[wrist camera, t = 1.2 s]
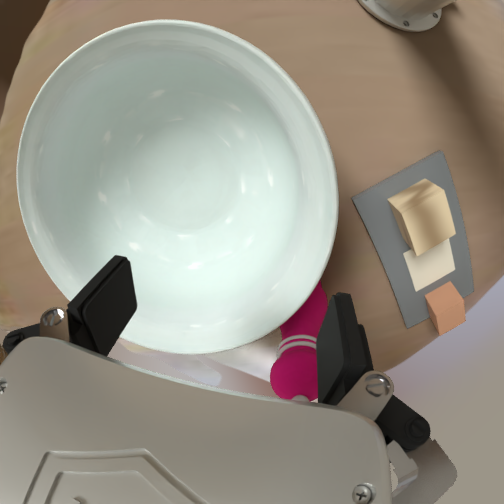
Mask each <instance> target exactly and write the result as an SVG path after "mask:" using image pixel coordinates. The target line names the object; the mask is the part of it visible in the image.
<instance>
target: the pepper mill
mask: <svg viewBox="0 0 504 504" xmlns="http://www.w3.org/2000/svg"><path fill="white" fill-rule="evenodd" d="M327 307H328V303H327V296H326V294H325V292H324V290H323V289H322V285H321V280H319V282H318V284H317V285H316V287H315V288H314V290H313V292H312V293H311V295H310V296H309V297H308V299H307V300H306V301H305V302H304V304H303V305H302V306H301V307H300V308H299V309H298V310H297V311H296V312H295V313H294V314H293V315H292V316H291V317H290V318H289V319H288V320H287V321H286V322H284V323H283V324H282V325H281V326H279V327H280V329H281V332H282V342H281V343H280V344H279V346H278V349H277V360H276V362H275V363H274V364H273V366H272V368H271V373H270V382H271V386H272V388H273V390H274V392H275V393H276V394H277V395H278V396H279V397H280V398H282V399H289V400H298V401H307V402H310V401H313V400H315V399H317V398H318V381H317V356H316V339H317V336H318V333H319V330H320V327H321V325H322V323H323V320H324V317H325V314H326V312H327Z"/></svg>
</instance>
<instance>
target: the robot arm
mask: <svg viewBox="0 0 504 504" xmlns="http://www.w3.org/2000/svg"><path fill="white" fill-rule="evenodd" d="M358 1H359V3H360V4H361V5H362V6H363V7H364V8H365V9H366V10H367V11H368V12H369V13H371V14H372V15H373V16H375V17H376V18H377V19H379V20H381V21H382V22H384V23H386V24H388V25H390V26H392V27H395V28H398V29H400V30H404V31H409V32H421V31H426V30H428V29H430V28H432V27H434V26H435V25H436V24H437V23H438V22H439V20H440V17H441V11H442V9H441V8H443V7H445V6H446V5H448V4H450V3H452V2H454V1H456V0H366V1H365V0H358ZM67 306H68V309H67V310H65V309H64V308H62V307H52V308H50V309H48V310H46V311H45V312H44V313H43V314H42V316H41V318H40V323H38V324H35V325H31V326H28V327H24V328H21V329H18V330H14V331H12V332H10V333H9V334H8V335H7V336H6V337H5V339H4V341H3V345H1V344H0V504H434V503H435V502H436V501H437V500H438V499H439V498H440V497H441V496H442V495H443V494H444V493H445V492H446V491H447V490H448V489H449V488H450V487H451V486H452V485H453V484H454V482H455V481H456V478H457V470H456V468H455V466H454V465H453V463H452V462H451V460H450V459H449V458H448V456H447V455H446V454H445V452H444V451H443V450H442V448H441V447H440V445H439V444H438V443H437V441H436V440H435V439H434V440H433V441H432V440H431V438H430V437H429V436H430V426H429V424H428V422H427V421H426V420H425V419H424V418H423V417H421V416H420V415H419V414H418V413H416V412H415V411H414V410H412V409H411V408H410V407H408V406H407V405H406V404H405V403H403V402H402V401H401V400H399V399H398V398H397V397H395V396H394V395H393V392H394V385H393V382H392V380H391V379H390V377H388V376H387V375H386V374H384V373H382V372H380V371H374V369H373V364H372V360H371V355H370V351H369V346H368V342H367V338H366V334H365V330H364V327H363V325H361V324H358V322H357V318H356V314H355V310H354V306H353V302H352V298H351V295H350V294H347V293H339V292H338V293H337V294H336V295H332V297H331V300H330V303H329V306H328V309H327V312H326V314H325V317H324V320H323V323H322V325H321V328H320V331H319V333H318V336H317V339H316V356H317V381H318V403H314V402H307V401H298V400H289V399H282V398H274V397H268V396H260V395H254V394H248V393H241V392H236V391H231V390H225V389H220V388H216V387H211V386H207V385H201V384H198V383H193V382H189V381H185V380H181V379H177V378H174V377H170V376H166V375H163V374H159V373H156V372H152V371H149V370H146V369H142V368H139V367H136V366H132V365H130V364H126V363H123V362H121V361H118V360H115V359H112V358H109V357H107V356H108V354H109V352H110V351H111V349H112V347H113V346H114V344H115V343H116V341H117V339H118V338H119V336H120V335H121V333H122V332H123V330H124V329H125V327H126V325H127V324H128V322H129V321H130V319H131V318H132V316H133V315H134V313H135V312H136V310H137V299H136V294H135V288H134V282H133V276H132V269H131V263H130V261H129V260H128V259H127V257H124V256H119V255H115V256H114V257H113V258H111V259H110V260H109V261H108V262H107V263H106V264H105V266H104V267H103V268H102V269H101V270H100V271H99V272H98V273H97V274H96V275H95V276H94V277H93V278H92V279H91V280H90V281H89V282H88V283H87V284H86V285H85V286H84V287H83V288H82V289H81V291H80V292H79V293H78V294H77V295H76V296H75V297H74V298H73V299H72V300H71V302H70V303H69V304H68V305H67ZM390 463H392V465H393V466H394V467H395V469H394V472H395V473H396V475H397V477H398V485H397V487H396V489H395V490H394V491H393V492H392V488H391V487H392V486H391V471H390ZM356 486H357V487H356Z"/></svg>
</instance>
